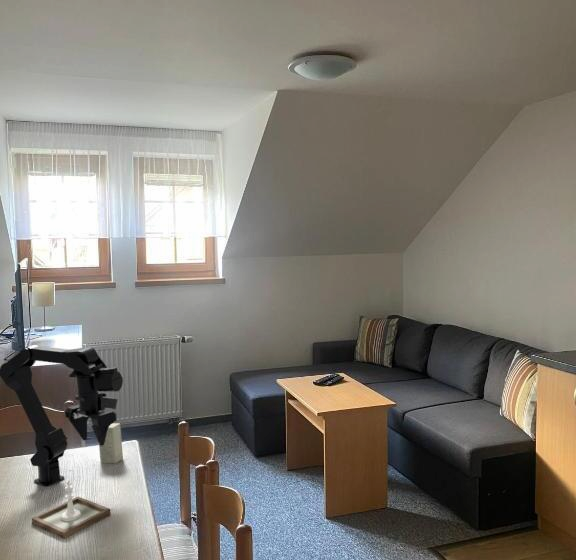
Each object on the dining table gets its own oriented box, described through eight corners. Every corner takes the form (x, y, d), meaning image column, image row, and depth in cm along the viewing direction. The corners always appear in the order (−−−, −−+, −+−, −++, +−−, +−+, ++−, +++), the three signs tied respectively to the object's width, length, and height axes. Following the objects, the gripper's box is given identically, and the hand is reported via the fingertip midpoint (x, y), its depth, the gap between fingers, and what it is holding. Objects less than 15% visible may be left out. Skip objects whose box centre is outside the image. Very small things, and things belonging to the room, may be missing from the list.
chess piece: (67, 523, 149) (64, 486, 148) (57, 517, 152) (54, 481, 151) (84, 515, 153) (82, 479, 152) (74, 510, 156) (72, 474, 155)
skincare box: (123, 458, 192) (121, 423, 191) (115, 464, 188) (113, 427, 186) (107, 456, 194) (105, 421, 193) (99, 462, 190) (96, 426, 188)
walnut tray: (32, 523, 150) (31, 517, 150) (78, 501, 162) (78, 496, 162) (64, 538, 143) (63, 532, 142) (110, 514, 154) (110, 509, 154)
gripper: (129, 387, 170) (135, 439, 171) (94, 381, 182) (99, 429, 183) (96, 397, 161) (101, 452, 163) (61, 390, 173) (67, 440, 175)
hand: (93, 442), depth 171 cm, fingers open, 9 cm apart
